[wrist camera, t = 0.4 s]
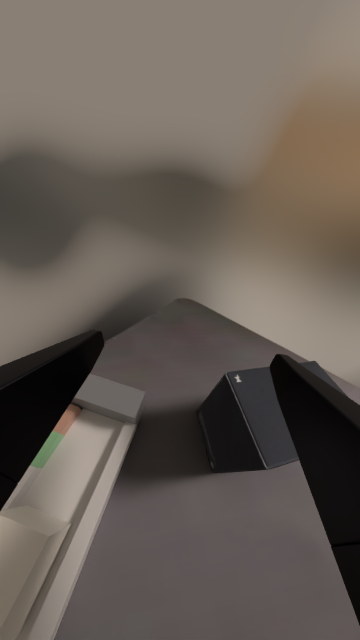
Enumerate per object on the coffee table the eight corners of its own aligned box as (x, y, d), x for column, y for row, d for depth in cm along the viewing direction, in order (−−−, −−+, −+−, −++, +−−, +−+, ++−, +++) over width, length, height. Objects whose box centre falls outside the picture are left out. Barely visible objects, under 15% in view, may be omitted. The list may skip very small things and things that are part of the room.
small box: (212, 480, 15) (268, 478, 8) (194, 409, 20) (221, 368, 13) (293, 453, 18) (389, 435, 11) (261, 396, 22) (314, 356, 15)
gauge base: (27, 707, 8) (-35, 822, 5) (-94, 639, 9) (-204, 711, 6) (145, 404, 19) (145, 391, 16) (89, 385, 20) (80, 370, 17)
